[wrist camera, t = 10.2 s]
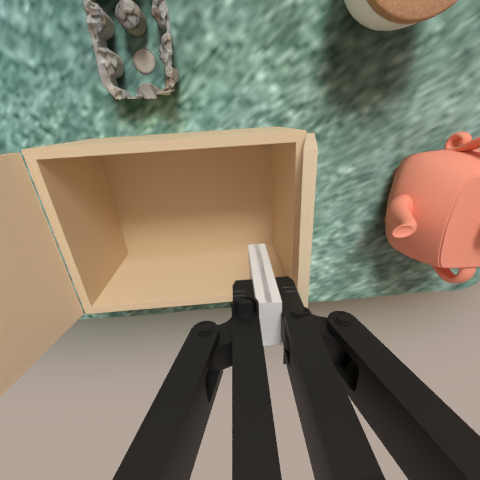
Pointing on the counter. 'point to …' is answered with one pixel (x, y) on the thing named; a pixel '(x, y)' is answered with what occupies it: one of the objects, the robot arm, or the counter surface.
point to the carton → (171, 212)
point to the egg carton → (143, 59)
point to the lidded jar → (395, 12)
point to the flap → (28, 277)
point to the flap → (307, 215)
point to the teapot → (438, 208)
